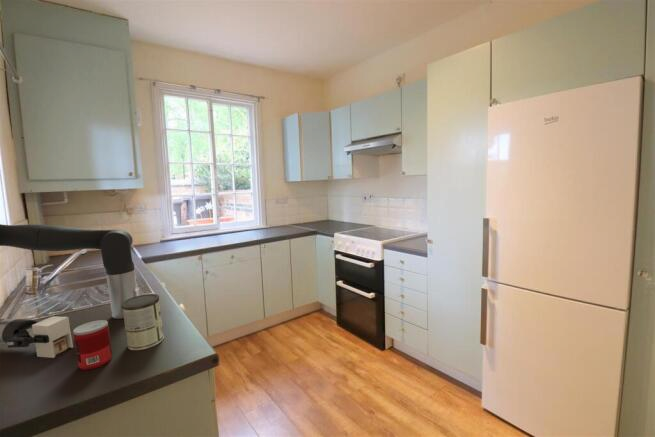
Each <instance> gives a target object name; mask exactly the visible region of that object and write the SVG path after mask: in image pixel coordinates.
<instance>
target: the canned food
mask: <svg viewBox="0 0 655 437" xmlns="http://www.w3.org/2000/svg"><path fill="white" fill-rule="evenodd" d="M108 322H109V321H107V320H104V319H100V320H99V319H97V320H92V321H89V322H86V323H83V324H81V325H78V326H77V327H75V328H74V329H73V330H72V334H73V335H72V336H73V341H74V347H75V354H76V359H77V360H76V361H77V365H78V368H79V369H80V370H83V371H88V370H89V371H90V370H95V369H97V368H100V367H102V366H104V365H106V364H107V363H109V362H110V361H111V360H112V358H113V349H112V348H113V347H112V342H111V341H112V340H111V334H110V333H111V332H110V327H109V323H108Z"/></svg>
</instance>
